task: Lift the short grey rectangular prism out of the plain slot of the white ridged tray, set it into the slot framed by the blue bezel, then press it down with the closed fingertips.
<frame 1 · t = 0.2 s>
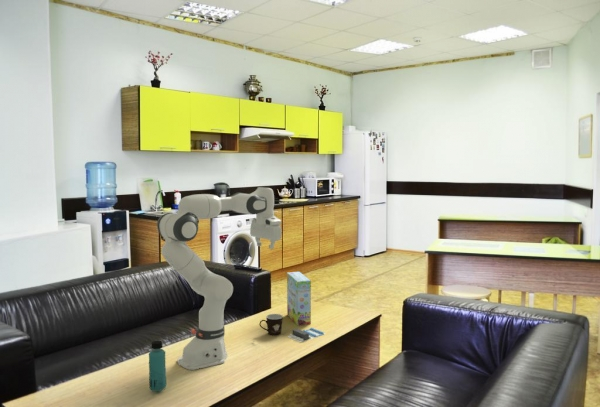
hand: (265, 247, 233), 47 cm above the table, tool pointing down, fingers open, 8 cm apart
white ridged tray: (306, 337, 242), on the table
snack box: (298, 320, 268), on the table
beverage bottle: (157, 391, 184), on the table
coffee mug: (271, 335, 244), on the table
grey rectangular prism: (300, 337, 239), point 1 cm above the table, touching white ridged tray
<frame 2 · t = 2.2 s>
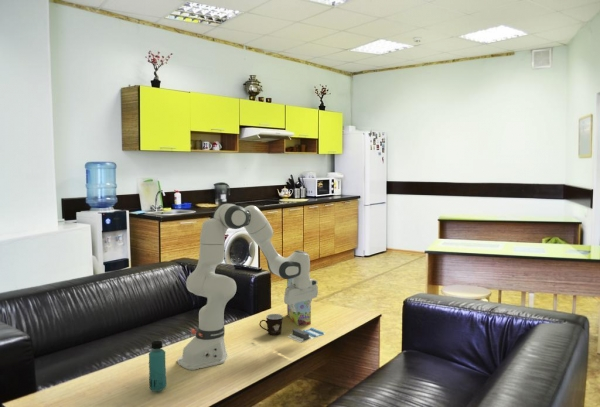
hand: (301, 309, 238), 15 cm above the table, tool pointing down, fingers open, 8 cm apart
nothing on the table moved.
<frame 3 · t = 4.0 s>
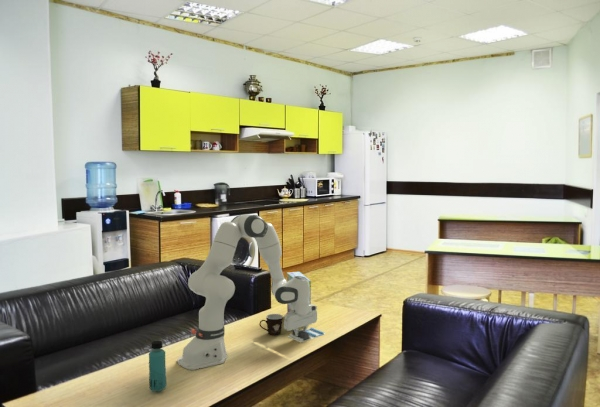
hand: (300, 334, 239), 2 cm above the table, tool pointing down, fingers closed on grey rectangular prism, 3 cm apart
grey rectangular prism: (300, 337, 239), point 1 cm above the table, touching white ridged tray, gripper
everything else where it was.
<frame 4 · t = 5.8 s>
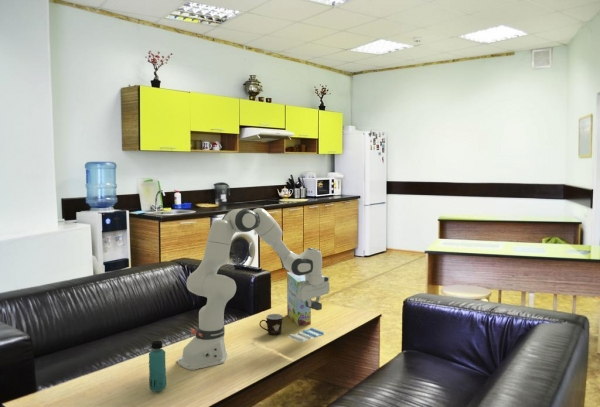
hand: (313, 305, 244), 16 cm above the table, tool pointing down, fingers closed on grey rectangular prism, 3 cm apart
grey rectangular prism: (313, 307, 244), point 14 cm above the table, touching gripper
everything else where it was.
when the fingers open (3 cm above the table, at t = 7.6 s): grey rectangular prism stays where it is, resting on white ridged tray.
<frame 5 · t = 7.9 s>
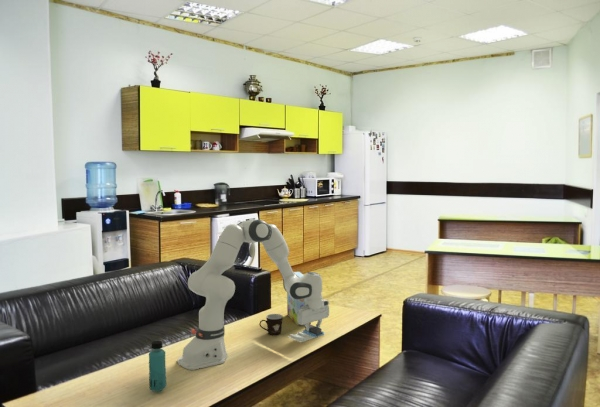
hand: (313, 329, 245), 3 cm above the table, tool pointing down, fingers open, 6 cm apart
grey rectangular prism: (313, 332, 245), point 1 cm above the table, touching white ridged tray
everything else where it was.
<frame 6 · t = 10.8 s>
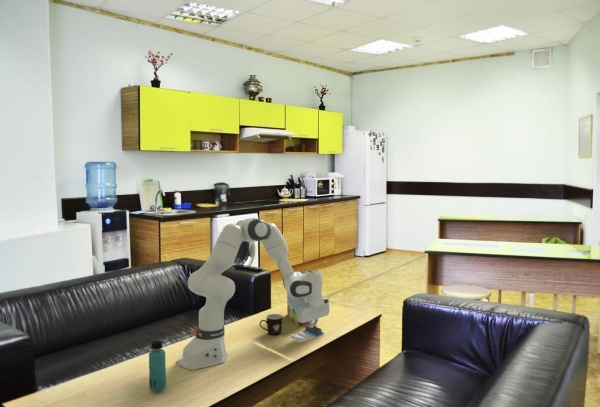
hand: (313, 327, 245), 4 cm above the table, tool pointing down, fingers closed, pressing on grey rectangular prism
grey rectangular prism: (313, 332, 245), point 1 cm above the table, touching white ridged tray, gripper
everything else where it was.
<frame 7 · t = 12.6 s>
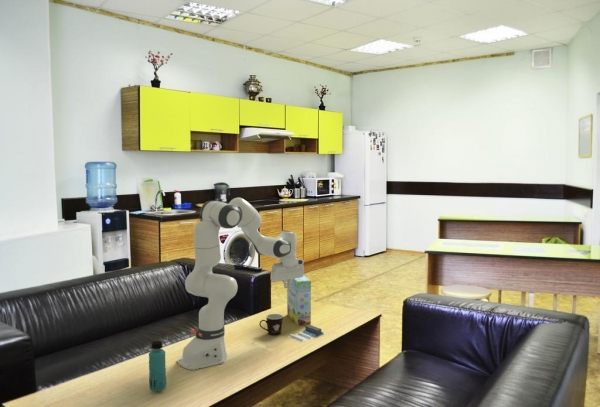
hand: (287, 287, 245), 24 cm above the table, tool pointing down, fingers closed
grey rectangular prism: (313, 333, 245), point 1 cm above the table, touching white ridged tray
everything else where it was.
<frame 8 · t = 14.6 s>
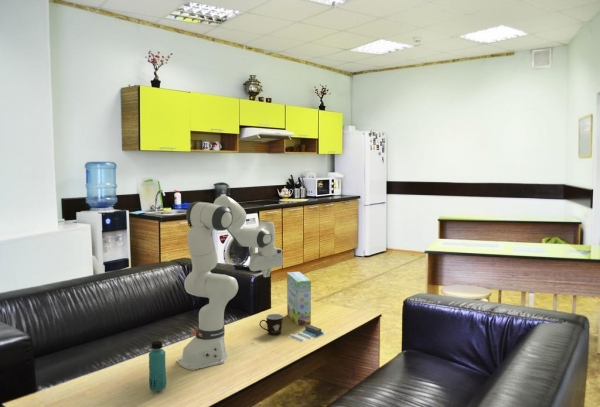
hand: (266, 276, 248), 29 cm above the table, tool pointing down, fingers closed
nothing on the table moved.
at the end: grey rectangular prism 0.0 cm from the target spot on the white ridged tray, point 1.0 cm above the white ridged tray's base; grey rectangular prism tilted 0°; the gripper is holding nothing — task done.
